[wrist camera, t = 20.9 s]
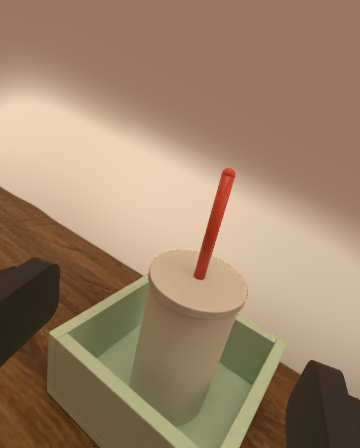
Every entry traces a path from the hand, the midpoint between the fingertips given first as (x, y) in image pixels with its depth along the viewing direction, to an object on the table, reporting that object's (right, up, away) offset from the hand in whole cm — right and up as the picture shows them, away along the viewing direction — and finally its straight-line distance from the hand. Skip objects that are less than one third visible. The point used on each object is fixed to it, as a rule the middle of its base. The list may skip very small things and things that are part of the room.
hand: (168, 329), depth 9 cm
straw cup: (-1, -9, +14) cm, 16 cm away
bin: (-1, -10, +14) cm, 17 cm away
